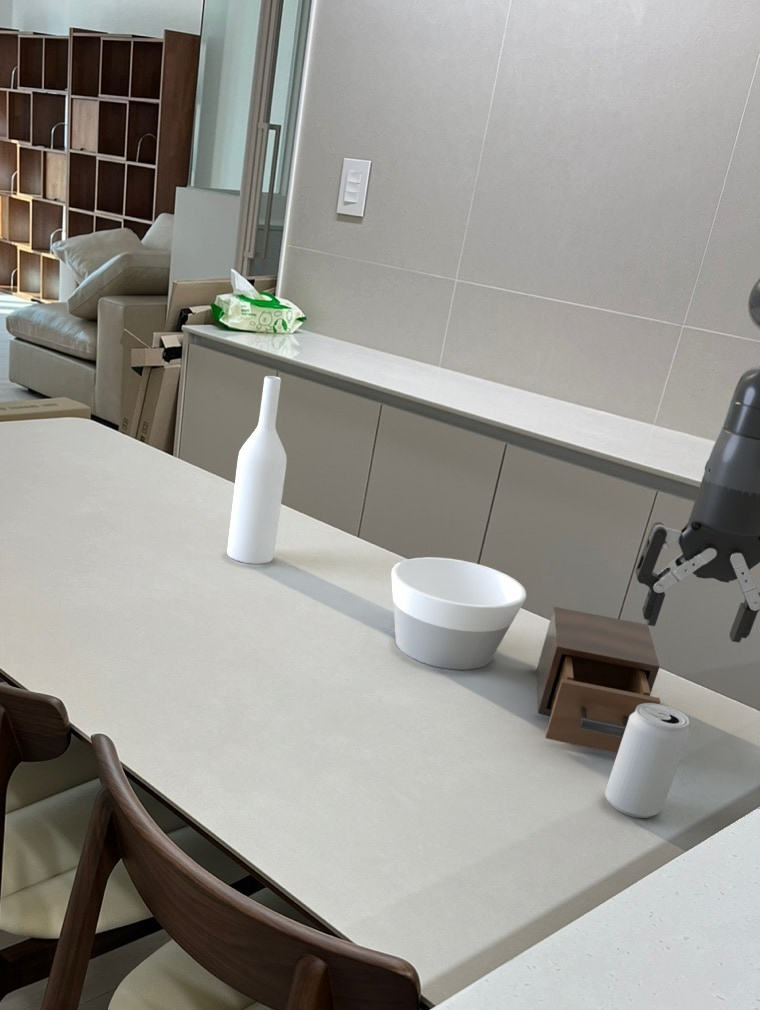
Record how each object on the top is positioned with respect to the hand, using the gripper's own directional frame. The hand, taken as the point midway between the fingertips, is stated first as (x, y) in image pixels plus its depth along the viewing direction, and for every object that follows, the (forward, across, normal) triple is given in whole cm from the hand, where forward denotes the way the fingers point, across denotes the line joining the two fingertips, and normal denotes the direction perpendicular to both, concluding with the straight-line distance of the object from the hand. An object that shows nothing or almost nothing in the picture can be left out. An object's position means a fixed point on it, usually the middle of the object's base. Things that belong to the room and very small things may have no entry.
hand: (692, 631), depth 111 cm
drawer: (+21, -4, +15) cm, 26 cm away
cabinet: (+22, -4, +27) cm, 35 cm away
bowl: (+22, -24, +35) cm, 48 cm away
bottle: (+22, -59, +59) cm, 86 cm away
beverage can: (+22, 0, 0) cm, 22 cm away
